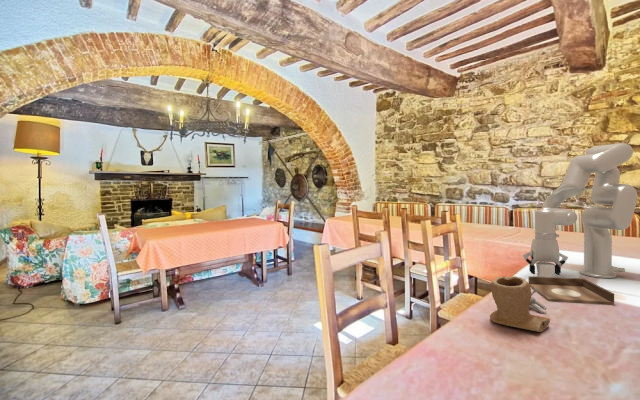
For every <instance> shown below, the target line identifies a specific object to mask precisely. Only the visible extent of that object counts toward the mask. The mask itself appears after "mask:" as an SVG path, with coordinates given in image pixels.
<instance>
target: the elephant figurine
mask: <svg viewBox="0 0 640 400" xmlns="http://www.w3.org/2000/svg"><path fill="white" fill-rule="evenodd" d="M536 291H537V288H536V289H535V290H533V291H531V301H530V306H529V307H532V308H534V309H535V310H536V311H537V312H539V313H540V314H544V311H546V310H547V306H545V305H543V304H542V303H540V302H539V301H538V300H536V298H535V297H533V295H534V294H535V293H537V292H536ZM539 307H540V308H539Z"/></svg>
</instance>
